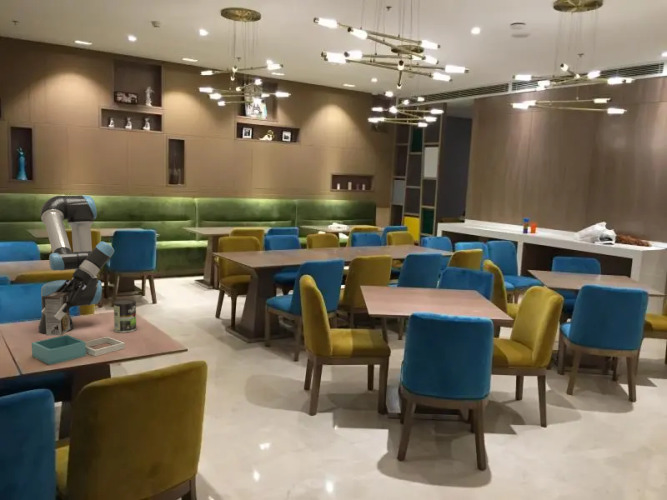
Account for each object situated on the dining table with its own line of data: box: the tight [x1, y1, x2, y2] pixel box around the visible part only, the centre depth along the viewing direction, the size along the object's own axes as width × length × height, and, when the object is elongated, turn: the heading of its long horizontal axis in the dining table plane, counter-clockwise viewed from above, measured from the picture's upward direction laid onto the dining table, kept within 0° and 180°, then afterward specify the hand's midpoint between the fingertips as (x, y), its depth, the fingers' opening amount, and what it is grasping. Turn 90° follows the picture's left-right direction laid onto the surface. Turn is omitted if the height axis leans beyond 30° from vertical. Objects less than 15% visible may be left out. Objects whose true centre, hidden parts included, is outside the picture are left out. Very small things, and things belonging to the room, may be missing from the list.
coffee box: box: [44, 292, 71, 337], centre depth 230 cm, size 9×6×16 cm
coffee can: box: [113, 298, 137, 334], centre depth 272 cm, size 10×10×14 cm
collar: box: [84, 336, 126, 357], centre depth 244 cm, size 14×14×2 cm
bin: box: [31, 334, 87, 366], centre depth 233 cm, size 15×15×6 cm
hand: (50, 316), depth 228 cm, fingers closed on coffee box, 10 cm apart
